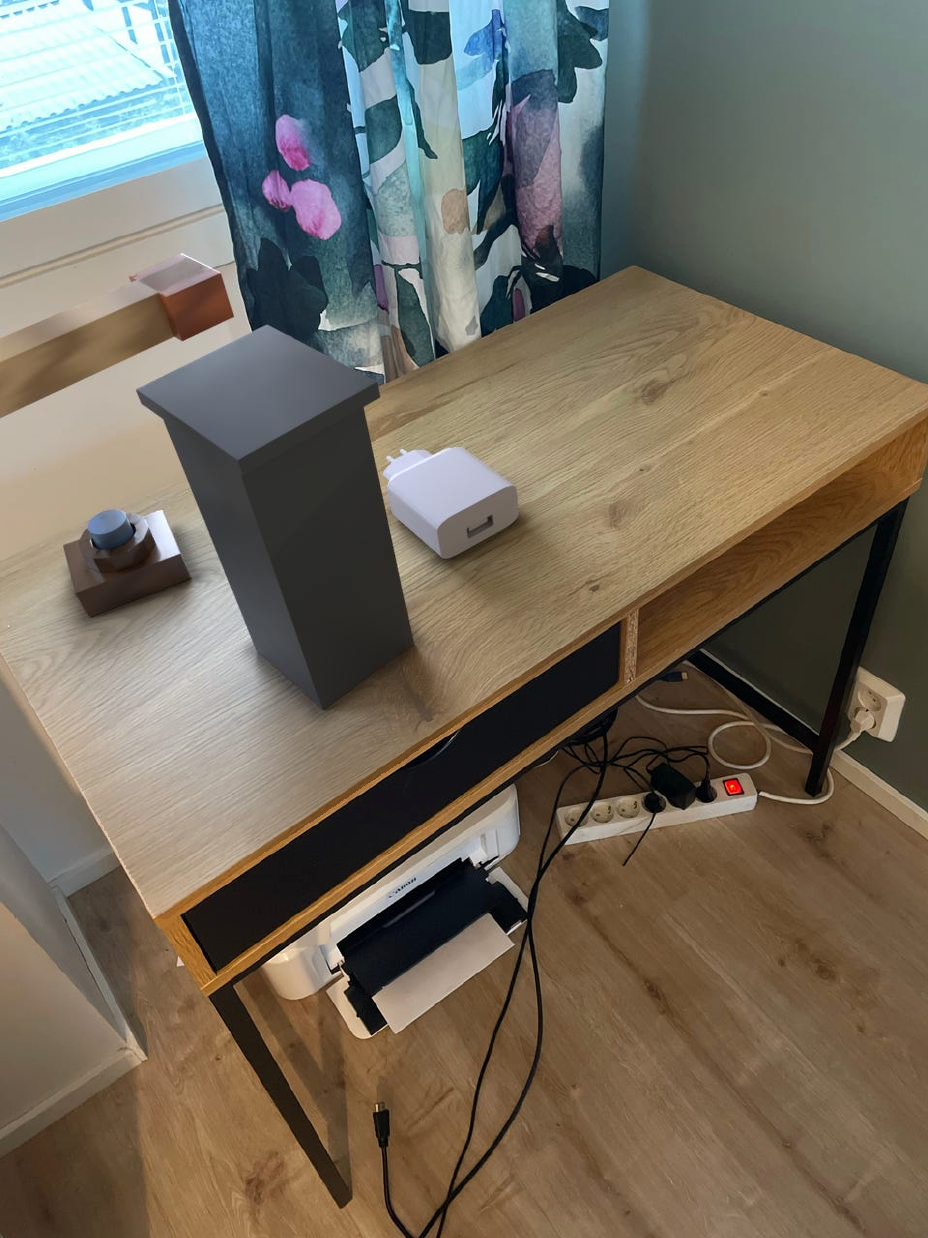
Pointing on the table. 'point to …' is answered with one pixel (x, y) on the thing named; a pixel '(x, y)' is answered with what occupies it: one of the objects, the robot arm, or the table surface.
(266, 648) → the stand
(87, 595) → the button base
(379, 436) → the table surface
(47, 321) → the stick
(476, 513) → the charger
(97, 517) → the plunger
